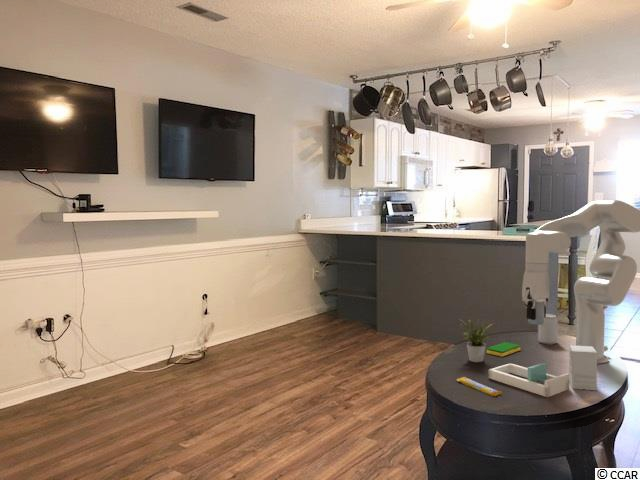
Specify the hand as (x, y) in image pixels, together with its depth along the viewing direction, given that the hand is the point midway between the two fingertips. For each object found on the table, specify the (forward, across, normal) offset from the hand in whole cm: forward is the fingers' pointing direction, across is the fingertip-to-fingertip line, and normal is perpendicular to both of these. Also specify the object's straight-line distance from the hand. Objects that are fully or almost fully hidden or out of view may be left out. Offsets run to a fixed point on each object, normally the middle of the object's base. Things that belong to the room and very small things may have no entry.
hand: (536, 317), depth 183 cm
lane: (+19, +13, +6) cm, 24 cm away
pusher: (+19, +13, +12) cm, 26 cm away
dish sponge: (+20, -12, -22) cm, 32 cm away
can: (+20, -38, -19) cm, 46 cm away
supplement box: (+20, +1, +18) cm, 27 cm away
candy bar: (+20, +30, -1) cm, 36 cm away
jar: (+2, 0, 0) cm, 2 cm away
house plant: (+20, +8, -22) cm, 30 cm away
